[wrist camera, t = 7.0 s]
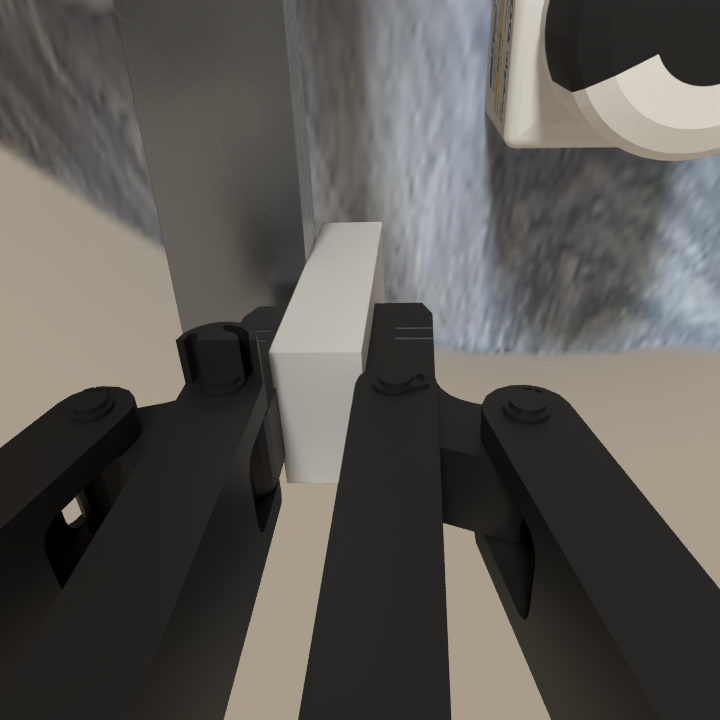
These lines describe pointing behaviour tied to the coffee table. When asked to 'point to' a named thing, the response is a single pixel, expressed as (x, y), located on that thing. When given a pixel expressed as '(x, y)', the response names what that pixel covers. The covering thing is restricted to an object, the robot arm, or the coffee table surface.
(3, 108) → the coffee table surface
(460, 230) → the coffee table surface
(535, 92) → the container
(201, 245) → the grey l-shaped beam
